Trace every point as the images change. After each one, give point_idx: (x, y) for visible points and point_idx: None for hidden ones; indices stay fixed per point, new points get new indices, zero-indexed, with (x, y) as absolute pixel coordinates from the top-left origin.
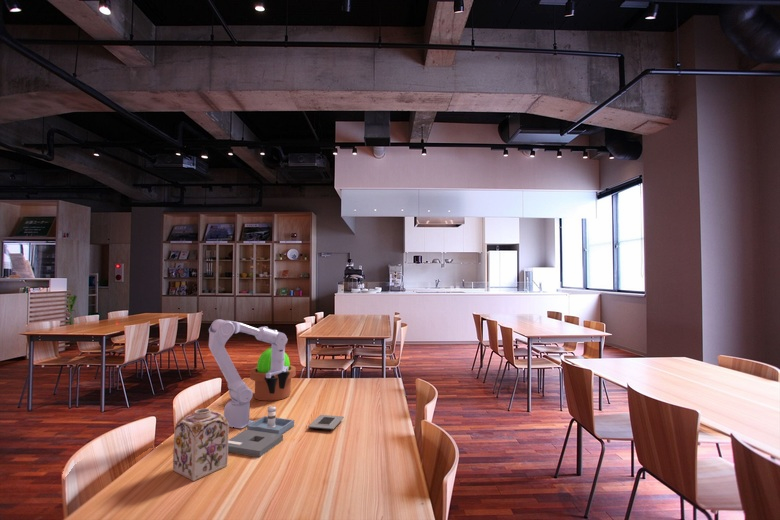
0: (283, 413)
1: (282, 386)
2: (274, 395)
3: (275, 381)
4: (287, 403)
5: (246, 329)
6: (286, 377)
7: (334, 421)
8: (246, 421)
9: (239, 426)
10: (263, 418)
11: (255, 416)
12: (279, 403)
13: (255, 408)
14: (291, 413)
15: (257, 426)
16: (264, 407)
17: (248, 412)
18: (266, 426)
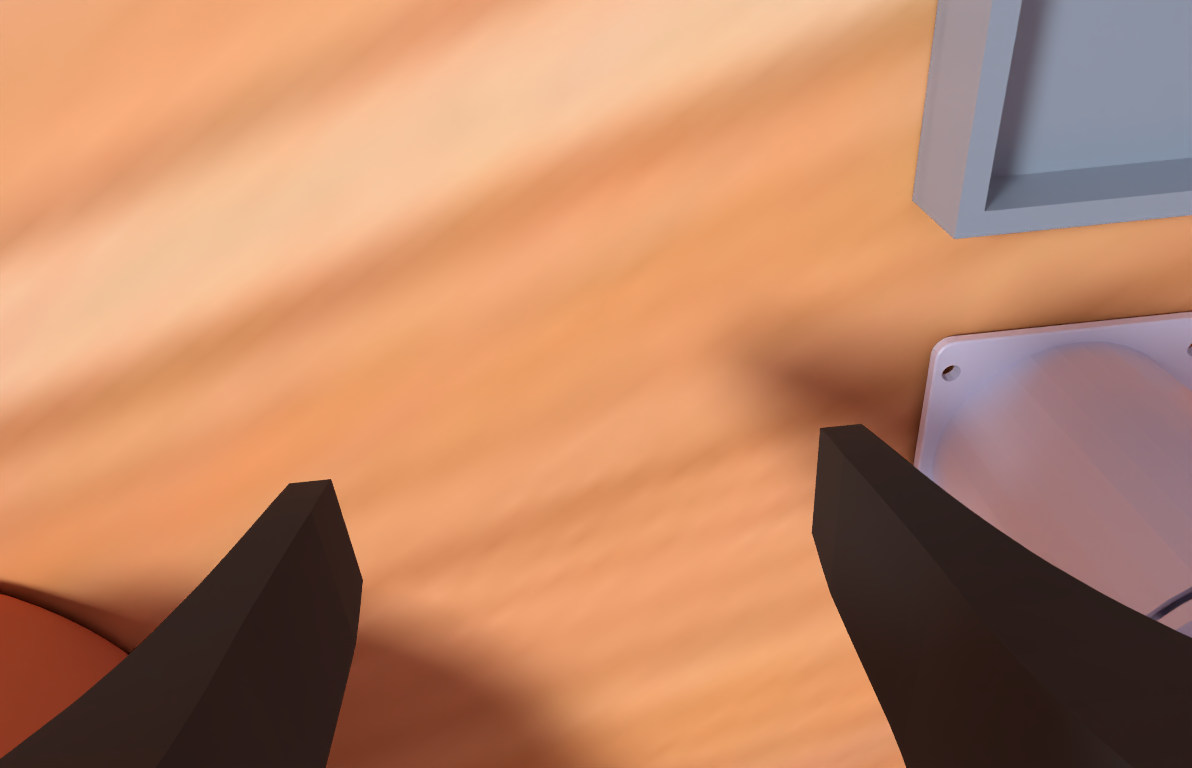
0: (442, 171)
1: (326, 552)
2: (60, 690)
3: (1182, 676)
4: (24, 415)
5: None
6: (117, 753)
7: None
8: (1123, 363)
9: (1181, 369)
10: (1009, 202)
11: (726, 454)
12: (118, 511)
13: (472, 627)
14: (366, 27)
15: (1159, 148)
16: (381, 569)
17: (1159, 438)
18: (1153, 1)
